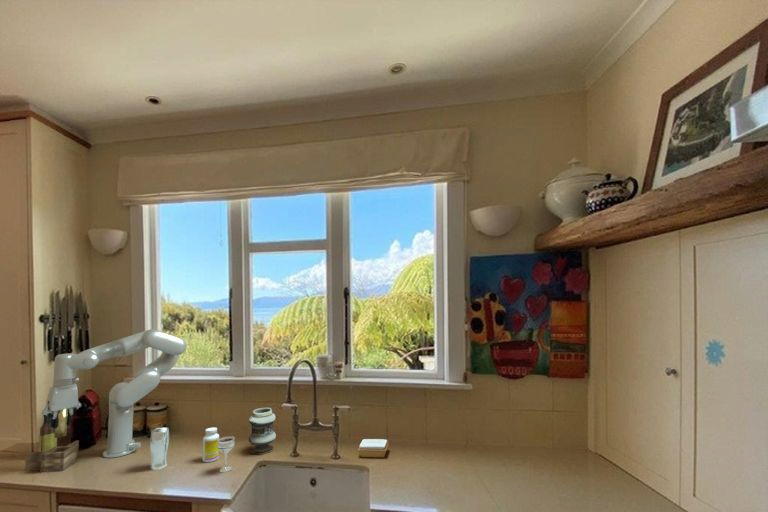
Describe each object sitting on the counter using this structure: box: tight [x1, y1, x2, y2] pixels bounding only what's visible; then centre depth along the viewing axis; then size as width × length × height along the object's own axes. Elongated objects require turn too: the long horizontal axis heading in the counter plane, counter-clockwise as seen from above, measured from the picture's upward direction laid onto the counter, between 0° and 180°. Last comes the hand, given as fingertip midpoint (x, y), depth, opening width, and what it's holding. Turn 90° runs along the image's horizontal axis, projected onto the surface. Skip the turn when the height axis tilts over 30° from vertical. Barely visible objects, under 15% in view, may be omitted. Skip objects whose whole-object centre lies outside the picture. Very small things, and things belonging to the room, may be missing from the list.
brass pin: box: [54, 408, 68, 439], centre depth 165 cm, size 4×4×12 cm
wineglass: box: [217, 435, 236, 473], centre depth 158 cm, size 7×7×12 cm
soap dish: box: [357, 438, 389, 459], centre depth 170 cm, size 12×10×5 cm
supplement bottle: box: [201, 427, 220, 463], centre depth 169 cm, size 7×7×13 cm
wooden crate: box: [24, 440, 80, 474], centre depth 167 cm, size 16×16×7 cm
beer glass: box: [149, 426, 170, 471], centre depth 162 cm, size 7×7×15 cm
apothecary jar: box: [248, 407, 277, 455], centre depth 178 cm, size 12×12×18 cm
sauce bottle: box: [38, 411, 58, 452], centre depth 176 cm, size 7×6×20 cm
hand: (60, 425), depth 165 cm, fingers closed on brass pin, 4 cm apart
